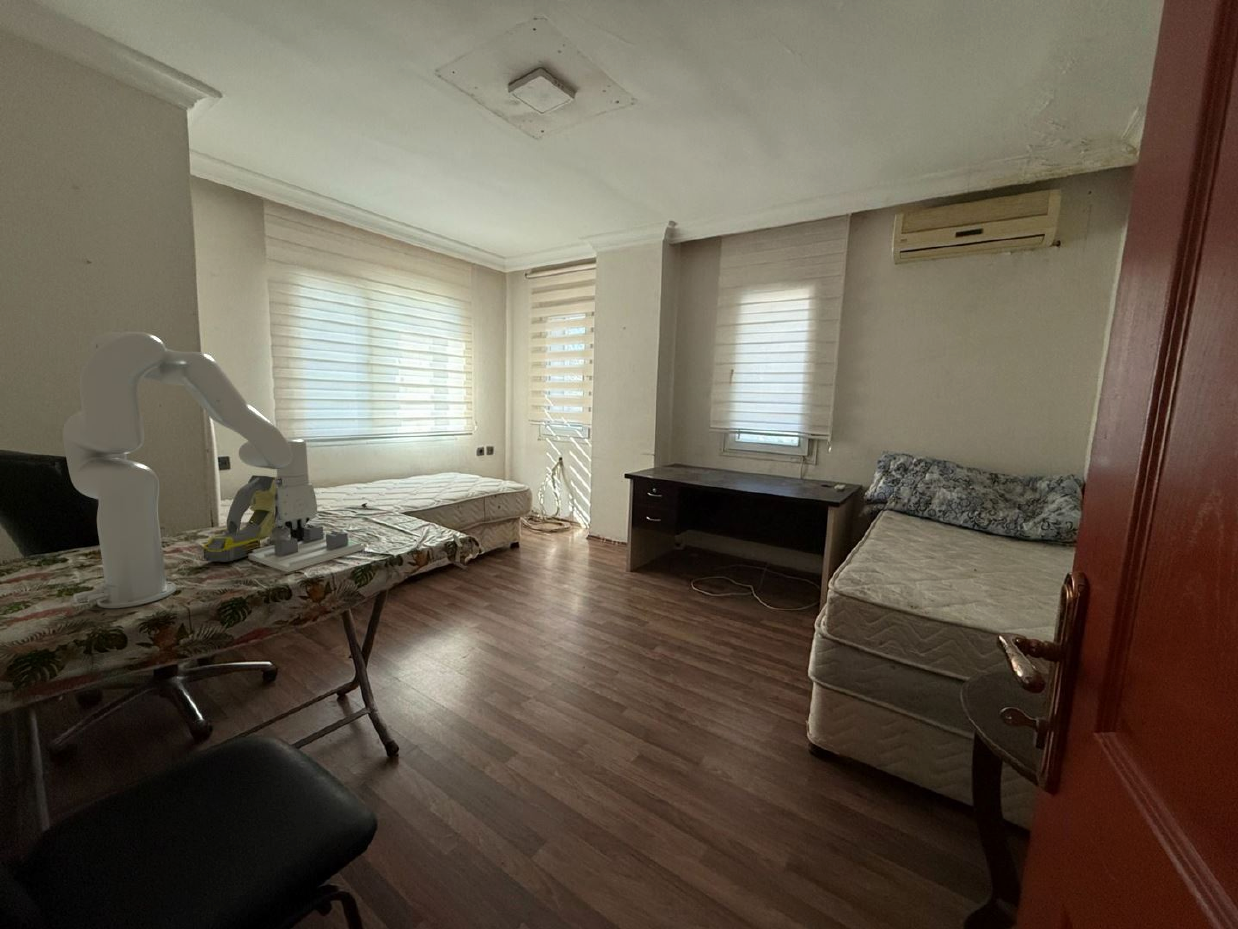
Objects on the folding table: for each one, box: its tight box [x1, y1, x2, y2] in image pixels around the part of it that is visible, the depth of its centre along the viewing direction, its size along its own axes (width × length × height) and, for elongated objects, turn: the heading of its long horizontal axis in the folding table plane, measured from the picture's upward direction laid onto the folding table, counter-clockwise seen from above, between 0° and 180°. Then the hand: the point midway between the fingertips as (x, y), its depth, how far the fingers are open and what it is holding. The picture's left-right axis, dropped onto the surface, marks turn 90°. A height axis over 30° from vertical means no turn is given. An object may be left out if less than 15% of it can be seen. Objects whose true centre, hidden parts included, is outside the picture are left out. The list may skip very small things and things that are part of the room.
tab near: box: [325, 529, 349, 550], centre depth 139 cm, size 4×4×5 cm
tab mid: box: [273, 535, 298, 557], centre depth 132 cm, size 4×4×5 cm
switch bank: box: [247, 532, 366, 573], centre depth 137 cm, size 22×19×2 cm
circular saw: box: [203, 474, 290, 563], centre depth 141 cm, size 10×30×25 cm
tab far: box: [303, 523, 324, 543], centre depth 144 cm, size 4×4×5 cm
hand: (297, 540), depth 140 cm, fingers closed
